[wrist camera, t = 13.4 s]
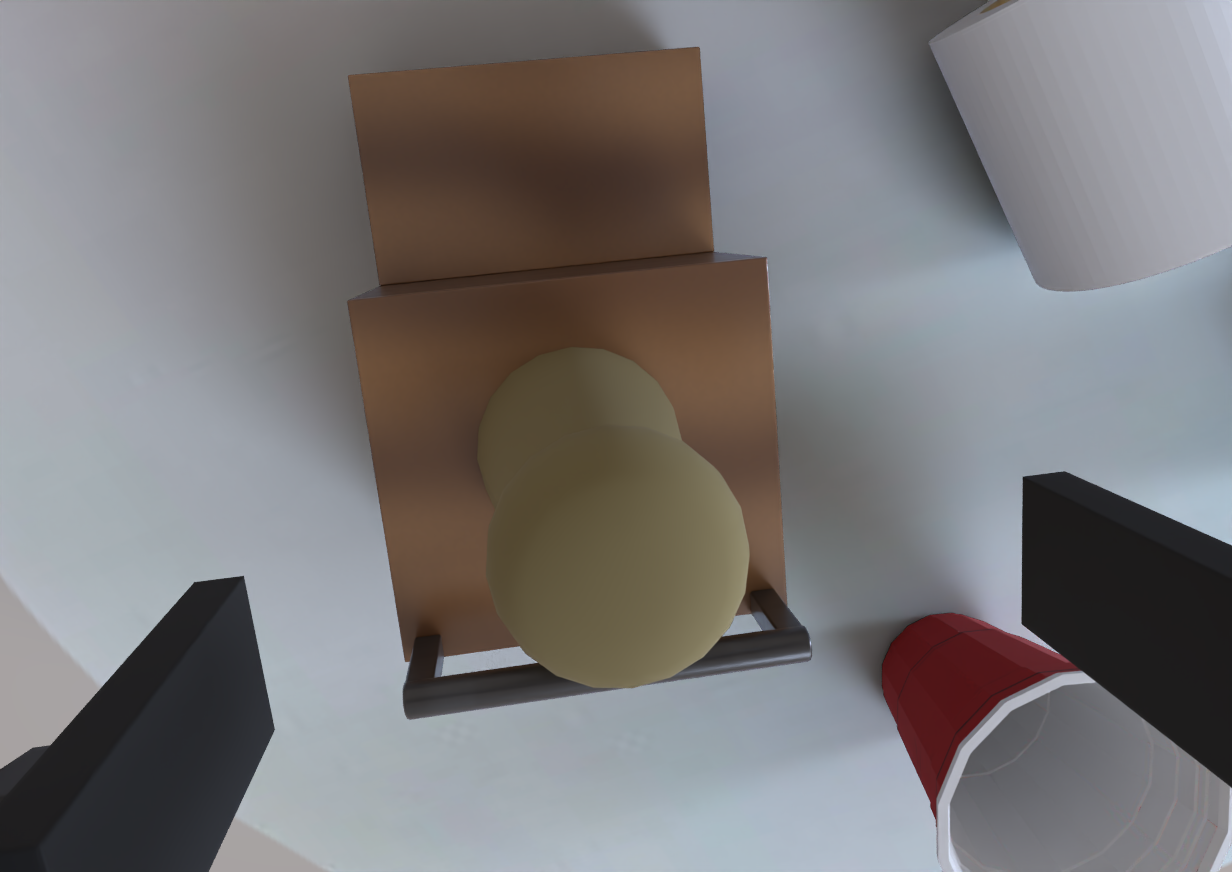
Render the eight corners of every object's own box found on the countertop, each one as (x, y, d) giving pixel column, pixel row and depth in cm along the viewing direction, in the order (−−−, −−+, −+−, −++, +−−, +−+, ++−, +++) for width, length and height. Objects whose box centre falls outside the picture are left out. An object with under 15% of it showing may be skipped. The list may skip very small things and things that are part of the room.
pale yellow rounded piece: (702, 371, 27) (831, 462, 17) (653, 562, 28) (744, 762, 18) (500, 325, 26) (498, 391, 16) (458, 525, 27) (429, 714, 17)
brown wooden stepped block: (364, 92, 35) (268, -5, 20) (678, 66, 36) (794, -43, 22) (432, 546, 39) (390, 729, 25) (712, 510, 40) (828, 665, 26)
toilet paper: (886, 63, 37) (1023, 3, 27) (1103, -67, 37) (1318, -175, 27) (987, 283, 39) (1146, 301, 29) (1191, 161, 39) (1417, 138, 29)
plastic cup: (972, 507, 41) (1155, 615, 30) (1086, 677, 44) (1296, 838, 32) (778, 652, 42) (884, 814, 30) (902, 812, 44) (1044, 1018, 33)
